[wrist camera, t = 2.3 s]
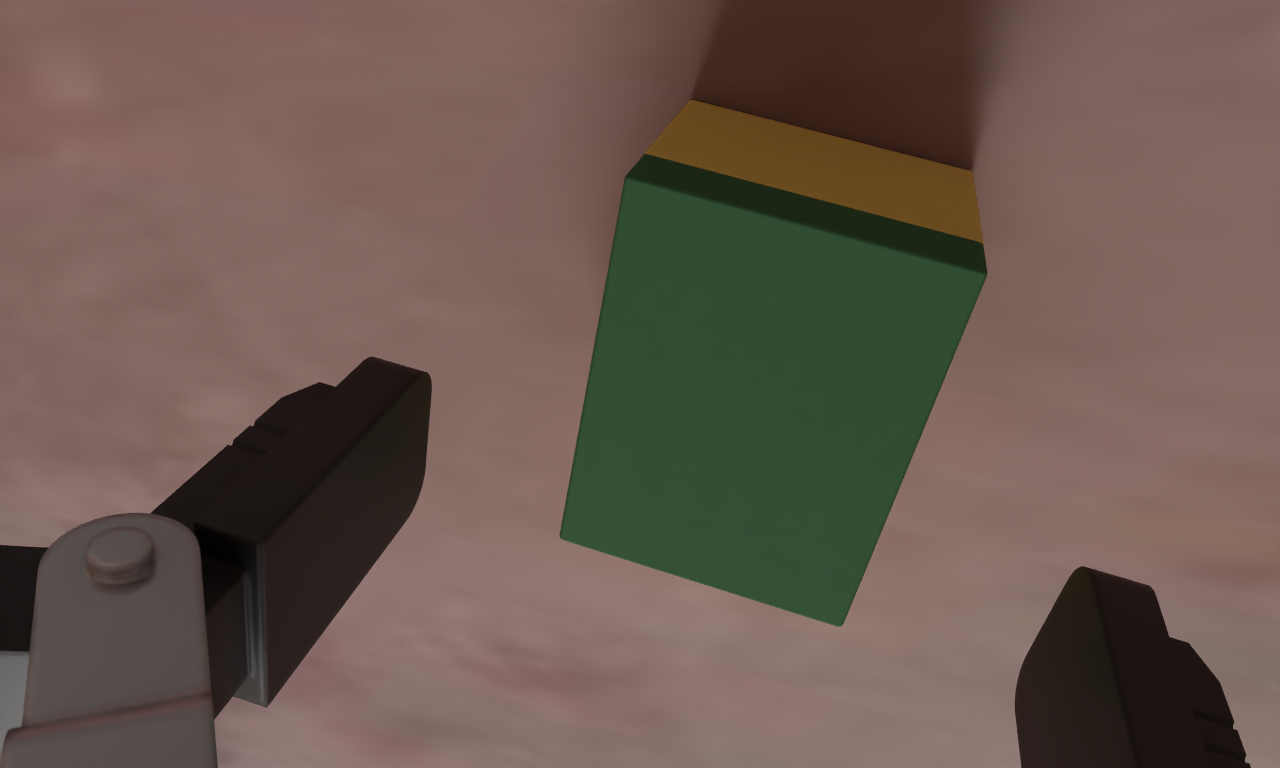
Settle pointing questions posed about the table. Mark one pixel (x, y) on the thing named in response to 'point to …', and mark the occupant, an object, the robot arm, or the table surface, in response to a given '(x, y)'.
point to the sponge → (769, 354)
